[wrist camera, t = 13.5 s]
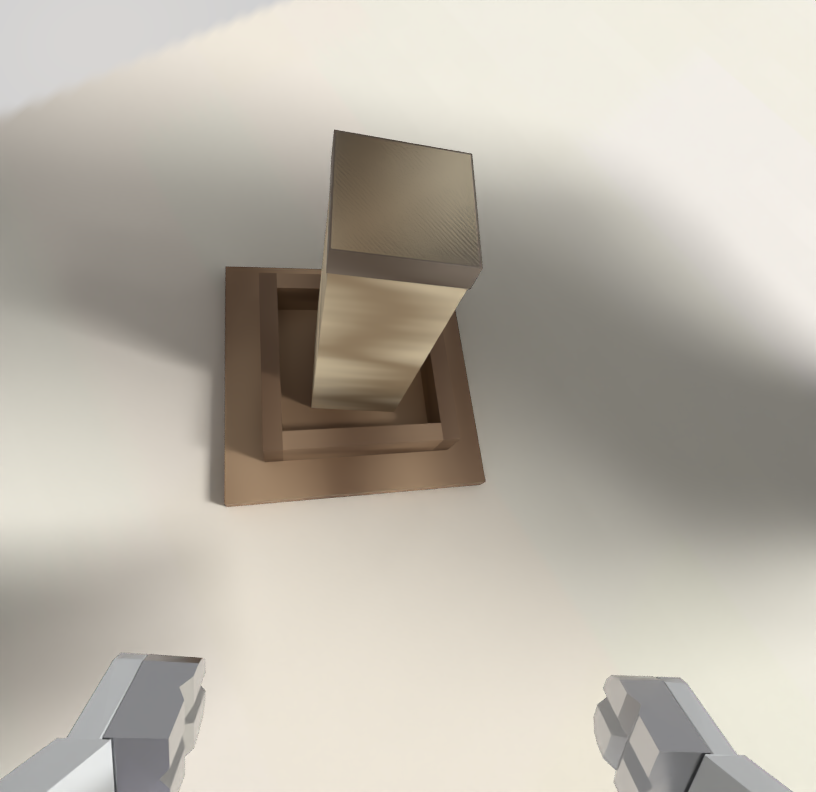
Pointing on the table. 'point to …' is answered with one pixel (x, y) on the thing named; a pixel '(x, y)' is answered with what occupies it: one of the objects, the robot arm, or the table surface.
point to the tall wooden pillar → (390, 266)
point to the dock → (330, 428)
